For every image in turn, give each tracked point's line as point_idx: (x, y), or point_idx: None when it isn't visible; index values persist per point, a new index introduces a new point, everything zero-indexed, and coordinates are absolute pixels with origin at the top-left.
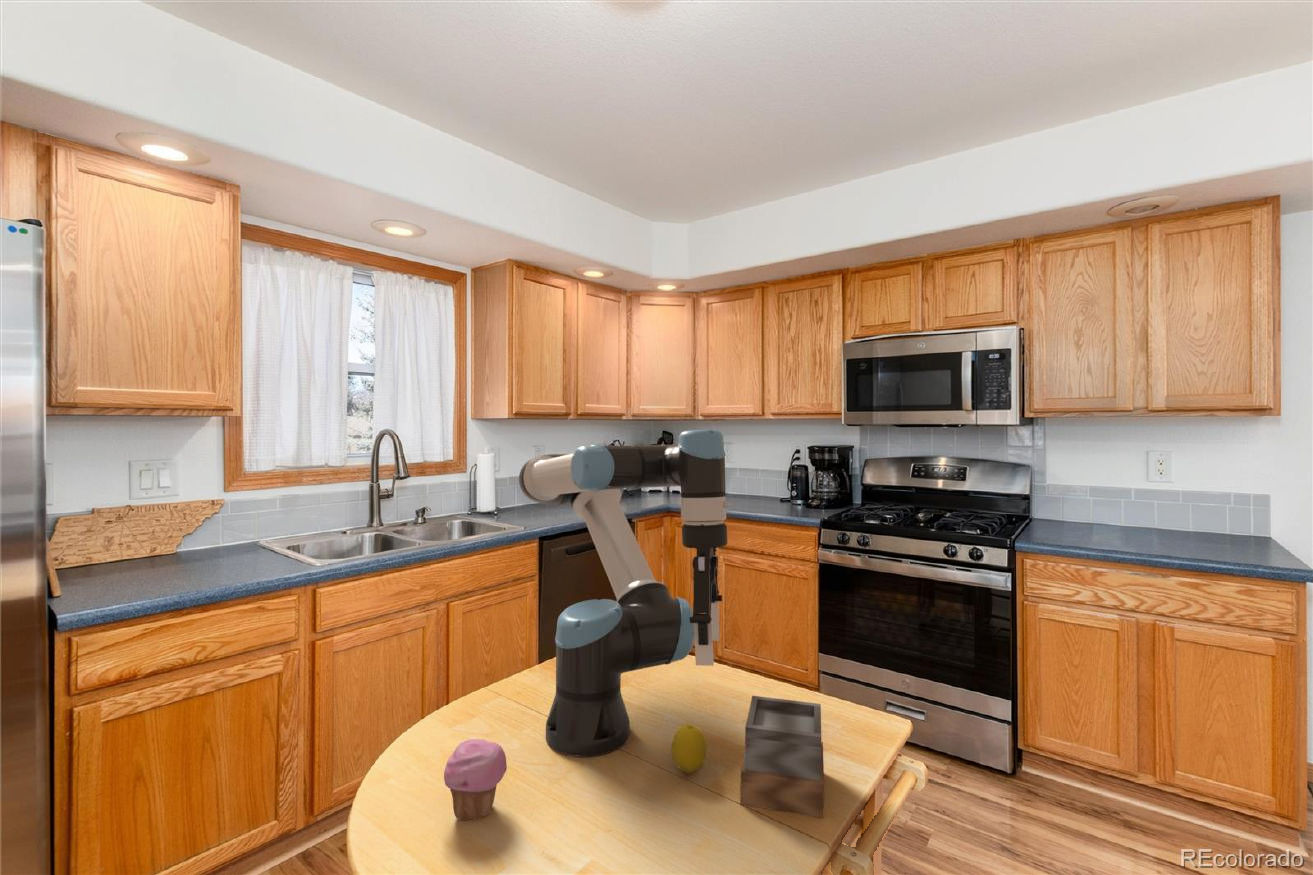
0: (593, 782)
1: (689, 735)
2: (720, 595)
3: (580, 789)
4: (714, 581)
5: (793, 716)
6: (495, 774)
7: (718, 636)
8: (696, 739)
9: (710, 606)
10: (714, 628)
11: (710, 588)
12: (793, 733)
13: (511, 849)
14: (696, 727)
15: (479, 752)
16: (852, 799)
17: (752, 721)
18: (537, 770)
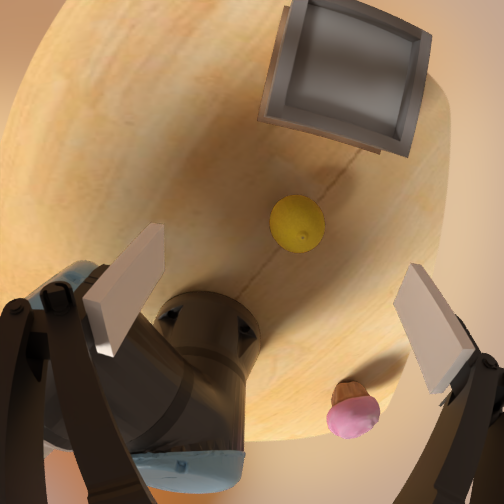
0: (311, 318)
1: (318, 234)
2: (42, 300)
3: (323, 327)
4: (451, 501)
5: (316, 41)
6: (373, 404)
7: (159, 232)
8: (320, 221)
9: (490, 399)
10: (148, 258)
11: (475, 469)
12: (425, 75)
13: (396, 354)
14: (297, 223)
15: (367, 426)
16: None
17: (389, 138)
18: (286, 366)
